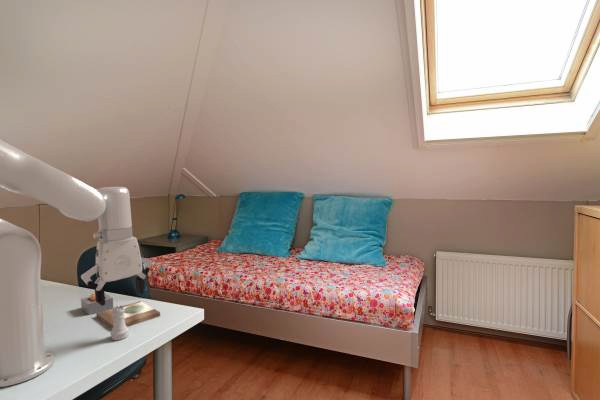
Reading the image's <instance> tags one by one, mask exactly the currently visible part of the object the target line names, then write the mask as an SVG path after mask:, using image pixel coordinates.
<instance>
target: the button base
mask: <svg viewBox="0 0 600 400" xmlns="http://www.w3.org/2000/svg"><path fill="white" fill-rule="evenodd" d="M104 295H105V305H103V306H102V305H100V304H99V303H97V302H96V301H93V302H91V301H90V296H87V297H82V298H80V305H81V306H80V307H81V310H82V311H83V312H84V313H86V314H87V315H88V316H89V315H90V316H91V315H93V314H96V313H99V312H102V311H106V310H110V309H113V308H114V297H112V296H110V295H109V294H107V293H106V292H104Z"/></svg>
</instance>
